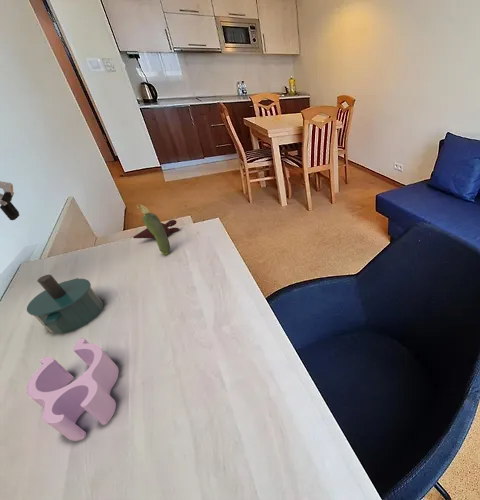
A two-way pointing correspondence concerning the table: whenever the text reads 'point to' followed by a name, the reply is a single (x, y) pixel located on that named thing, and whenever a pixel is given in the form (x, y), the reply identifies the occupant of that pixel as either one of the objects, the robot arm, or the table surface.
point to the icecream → (148, 234)
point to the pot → (73, 314)
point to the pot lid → (57, 295)
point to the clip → (75, 390)
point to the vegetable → (155, 229)
